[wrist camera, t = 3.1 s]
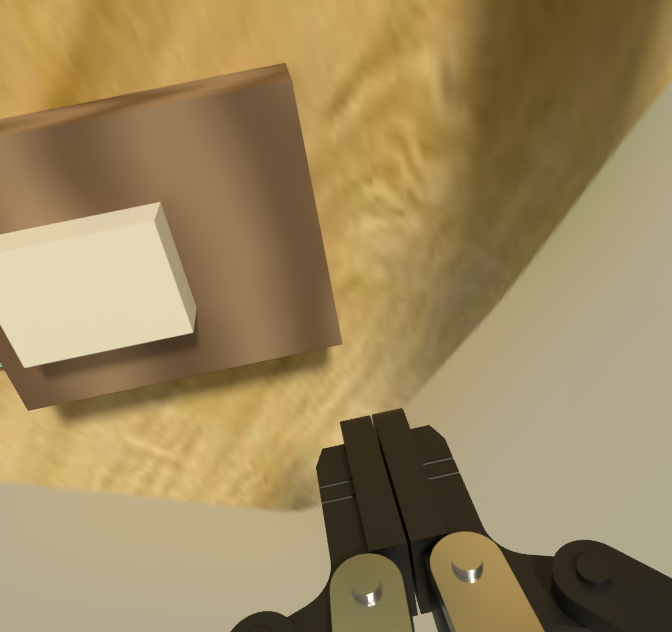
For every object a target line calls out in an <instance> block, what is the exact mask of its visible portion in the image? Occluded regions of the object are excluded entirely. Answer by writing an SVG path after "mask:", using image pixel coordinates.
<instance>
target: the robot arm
mask: <svg viewBox="0 0 672 632" xmlns="http://www.w3.org/2000/svg"><path fill="white" fill-rule="evenodd" d="M372 420H373V424H372V421H371V417H370V415H369V416H364V417H359V418H355V419H350V420H346V421H341V422H340V425H341V430H342V435H343V440H344V444H342V445H338V446H333V447H329V448H324V449H322V452H321V455H320V457H319V460H318V463H317V466H316V470H317V476H318V483H319V488H320V496H321V502H322V508H323V515H324V521H325V527H326V534H327V541H328V547H329V553H330V560H331V572H330V577H329V580H328V582H327V584H326V586H325V588H324V589H323V591H322V592H321V594H320V595H319V596H318V597H317V598H316V599H315V600H314V601H313V602H311V603H310V604H308V605H307V606H305V607H304V608H302V609H301V610H299V611H297V612H295V613H294V614H292V615H290V616H289V617H285V616H284V615H282V614H280V613H277V612H272V611H263V612H258V613H255V614H252V615H250V616H248V617H246V618H245V619H243V620H242V621H240V622H239V623H238V624H237V625H236V626H235V627H234V628H233V629H232V631H231V632H415V631H414V624H413V618H412V616H416V615H418V613H417V607H416V600H415V594H416V598H417V602H418V605H419V609H420V612H421V614H424V613H428V612H432V613H433V617H434V620H435V623H436V627H437V630H438V632H672V578H670V577H668V576H666V575H664V574H662V573H660V572H658V571H657V570H655V569H653V568H651V567H649V566H647V565H645V564H643V563H641V562H639V561H637V560H635V559H633V558H631V557H630V556H627V555H625V554H624V553H622V552H620V551H618V550H616V549H614V548H612V547H610V546H608V545H606V544H603V543H600V542H597V541H591V540H577V541H573V542H570V543H567V544H565V545H564V546H562V547H561V548H560V549H559V550H558V551H557V552H556V554H555V556H554V557H553V556H540V555H539V556H538V555H527V554H520V553H516V552H513V551H510V550H508V549H505V548H504V547H502V546H500V545H499V544H497V543H496V542H495V541H494V540H492V538H491V537H490V536H489V535H488V534H487V533H486V531H485V530H484V528H483V526H482V523H481V521H480V519H479V517H478V514H477V512H476V509H475V507H474V505H473V503H472V500H471V498H470V496H469V493H468V491H467V489H466V486H465V484H464V482H463V479H462V477H461V475H460V474H459V470H458V468H457V466H456V463H455V461H454V460H453V457H452V454H451V452H450V449H449V447H448V445H447V442H446V440H445V438H443V437H442V436H441V435H440V434H439V433H438V432H436V430H434V429H433V428H432V427H431V426H429V425H427V426H423V427H418V428H414V429H410V427H409V424H408V422H407V419H406V416H405V413H404V411H403V409H402V408H400V409H395V410H391V411H386V412H382V413H377V414H372ZM373 426H374V427H373ZM414 591H415V593H414Z"/></svg>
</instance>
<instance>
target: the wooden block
mask: <svg viewBox="0 0 672 632" xmlns="http://www.w3.org/2000/svg"><path fill="white" fill-rule="evenodd" d="M158 202H161V205H162V208H163V211H164V214H165V217H166V219H167V222H168V225H169V228H170V231H171V234H172V237H173V240H174V243H175V246H176V249H177V252H178V255H179V258H180V261H181V264H182V267H183V270H184V273H185V275H186V278H187V281H188V284H189V287H190V290H191V293H192V296H193V299H194V302H195V305H196V308H197V309H196V316H195V324H194V331H193V333H189V334H184V335H180V336H175V337H170V338H165V339H161V340H156V341H151V342H146V343H141V344H137V345H132V346H127V347H122V348H118V349H113V350H108V351H103V352H99V353H94V354H89V355H84V356H79V357H75V358H70V359H65V360H60V361H56V362H51V363H46V364H41V365H36V366H32V367H27V368H24V366H23V365H22V363H21V361H20V359H19V357H18V356H17V354H16V352H15V350H14V348H13V347H12V345H11V343H10V341H9V339H8V338H7V336H6V334H5V332H4V330H3V329H2V327H1V325H0V363H1V365H2V367H3V368H4V370H5V372H6V373H7V375H8V377H9V379H10V380H11V382H12V384H13V386H14V387H15V389H16V391H17V392H18V394H19V396H20V398H21V399H22V401H23V403H24V404H25V406H26V408H27V410H28V411H29V410H34V409H39V408H43V407H48V406H53V405H58V404H62V403H67V402H72V401H76V400H81V399H86V398H91V397H95V396H100V395H105V394H110V393H114V392H119V391H124V390H128V389H133V388H138V387H143V386H147V385H152V384H157V383H162V382H166V381H171V380H176V379H180V378H185V377H190V376H195V375H199V374H204V373H209V372H214V371H218V370H223V369H228V368H232V367H237V366H242V365H247V364H251V363H256V362H261V361H266V360H270V359H275V358H280V357H284V356H289V355H294V354H299V353H303V352H308V351H313V350H318V349H322V348H327V347H332V346H336V345H341V344H342V339H341V334H340V329H339V324H338V319H337V313H336V308H335V303H334V298H333V293H332V287H331V282H330V277H329V272H328V266H327V261H326V256H325V251H324V246H323V240H322V235H321V230H320V225H319V220H318V214H317V209H316V204H315V199H314V194H313V188H312V183H311V178H310V173H309V168H308V162H307V157H306V152H305V147H304V142H303V136H302V131H301V126H300V121H299V116H298V110H297V105H296V100H295V95H294V90H293V84H292V80H291V77H290V74H289V72H288V69H287V66H286V64H285V63H283V64H278V65H273V66H268V67H263V68H258V69H253V70H248V71H243V72H238V73H233V74H228V75H223V76H218V77H213V78H208V79H202V80H197V81H192V82H187V83H182V84H177V85H172V86H167V87H162V88H157V89H152V90H147V91H142V92H137V93H132V94H127V95H122V96H117V97H112V98H107V99H102V100H97V101H92V102H87V103H82V104H76V105H71V106H66V107H61V108H56V109H51V110H46V111H41V112H36V113H31V114H26V115H21V116H16V117H11V118H6V119H1V120H0V234H5V233H10V232H15V231H20V230H25V229H30V228H35V227H40V226H45V225H50V224H54V223H59V222H64V221H69V220H74V219H79V218H84V217H89V216H94V215H99V214H104V213H108V212H113V211H118V210H123V209H128V208H133V207H138V206H143V205H148V204H153V203H158Z"/></svg>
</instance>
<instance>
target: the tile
mask: <svg viewBox="0 0 672 632" xmlns="http://www.w3.org/2000/svg"><path fill="white" fill-rule="evenodd" d="M196 309H197V308H196V305H195V302H194V299H193V296H192V293H191V290H190V287H189V284H188V281H187V278H186V275H185V273H184V270H183V267H182V264H181V261H180V258H179V255H178V252H177V249H176V246H175V243H174V240H173V237H172V234H171V231H170V228H169V225H168V222H167V219H166V217H165V214H164V211H163V208H162V205H161V202H158V203H153V204H148V205H143V206H138V207H133V208H128V209H123V210H118V211H113V212H108V213H104V214H99V215H94V216H89V217H84V218H79V219H74V220H69V221H64V222H59V223H54V224H50V225H45V226H40V227H35V228H30V229H25V230H20V231H15V232H10V233H5V234H0V325H1V327H2V329H3V330H4V332H5V334H6V336H7V338H8V339H9V341H10V343H11V345H12V347H13V348H14V350H15V352H16V354H17V356H18V357H19V359H20V361H21V363H22V365H23V366H24V368H27V367H32V366H36V365H41V364H46V363H51V362H56V361H60V360H65V359H70V358H75V357H79V356H84V355H89V354H94V353H99V352H103V351H108V350H113V349H118V348H122V347H127V346H132V345H137V344H141V343H146V342H151V341H156V340H161V339H165V338H170V337H175V336H180V335H184V334H189V333H193V331H194V324H195V316H196Z"/></svg>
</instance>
